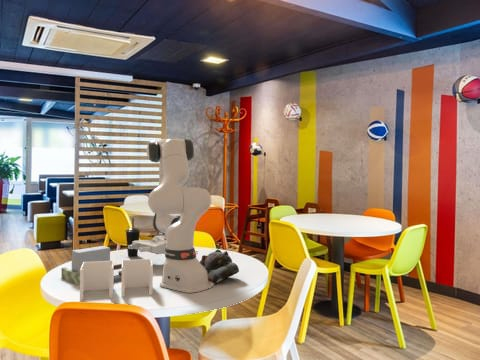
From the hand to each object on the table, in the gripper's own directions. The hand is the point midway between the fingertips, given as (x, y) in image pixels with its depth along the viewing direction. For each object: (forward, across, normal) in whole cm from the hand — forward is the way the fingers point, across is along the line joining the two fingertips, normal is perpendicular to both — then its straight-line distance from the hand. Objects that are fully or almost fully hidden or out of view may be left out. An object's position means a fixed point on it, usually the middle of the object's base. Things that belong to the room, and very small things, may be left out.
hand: (134, 248), depth 180 cm
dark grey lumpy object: (-15, +41, +10) cm, 44 cm away
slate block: (+21, -1, +10) cm, 23 cm away
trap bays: (+15, -1, +9) cm, 17 cm away
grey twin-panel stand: (+23, +25, +10) cm, 36 cm away
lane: (+17, -1, +9) cm, 19 cm away
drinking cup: (-13, -23, +9) cm, 28 cm away
